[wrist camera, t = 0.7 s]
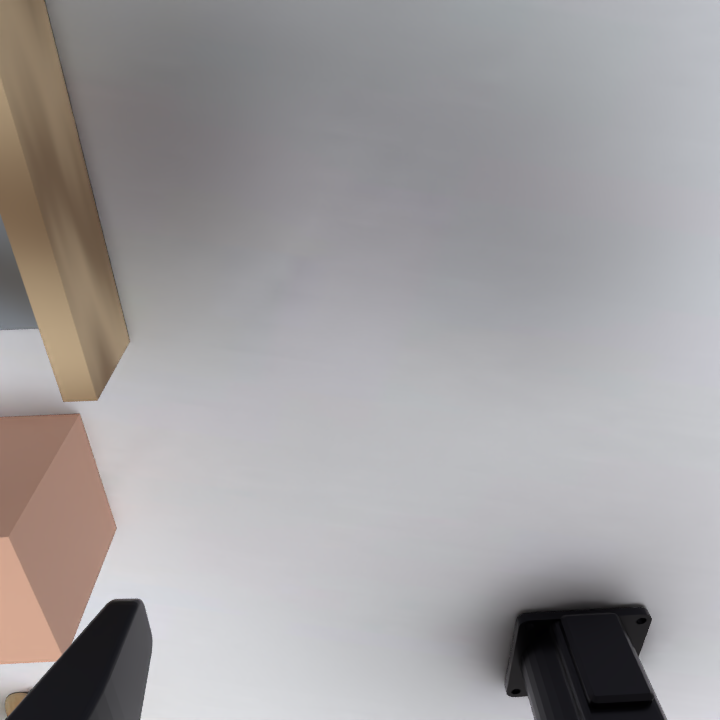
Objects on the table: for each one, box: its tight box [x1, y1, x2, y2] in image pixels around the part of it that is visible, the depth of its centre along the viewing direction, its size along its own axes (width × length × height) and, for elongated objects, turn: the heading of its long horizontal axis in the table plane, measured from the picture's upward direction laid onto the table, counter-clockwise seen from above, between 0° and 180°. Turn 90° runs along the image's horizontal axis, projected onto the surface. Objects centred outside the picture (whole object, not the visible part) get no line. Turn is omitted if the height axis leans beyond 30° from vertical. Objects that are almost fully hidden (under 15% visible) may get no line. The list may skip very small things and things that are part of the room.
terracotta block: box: [0, 414, 117, 664], centre depth 22 cm, size 6×4×6 cm, turn 1°
